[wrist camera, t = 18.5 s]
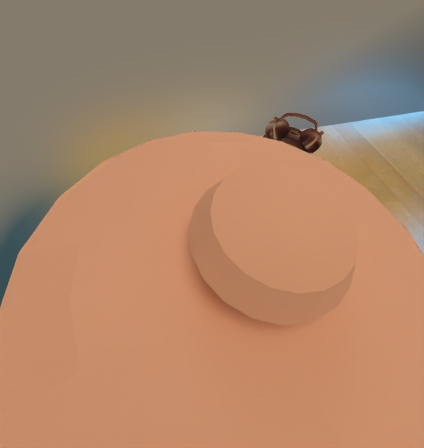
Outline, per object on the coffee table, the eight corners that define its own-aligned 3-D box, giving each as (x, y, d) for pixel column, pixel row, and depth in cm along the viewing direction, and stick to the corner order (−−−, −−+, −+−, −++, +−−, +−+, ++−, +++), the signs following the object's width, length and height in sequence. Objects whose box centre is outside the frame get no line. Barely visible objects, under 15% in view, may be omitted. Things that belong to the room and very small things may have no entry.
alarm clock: (247, 176, 49) (270, 113, 36) (251, 162, 51) (273, 99, 38) (294, 190, 48) (334, 131, 35) (296, 175, 51) (334, 115, 38)
